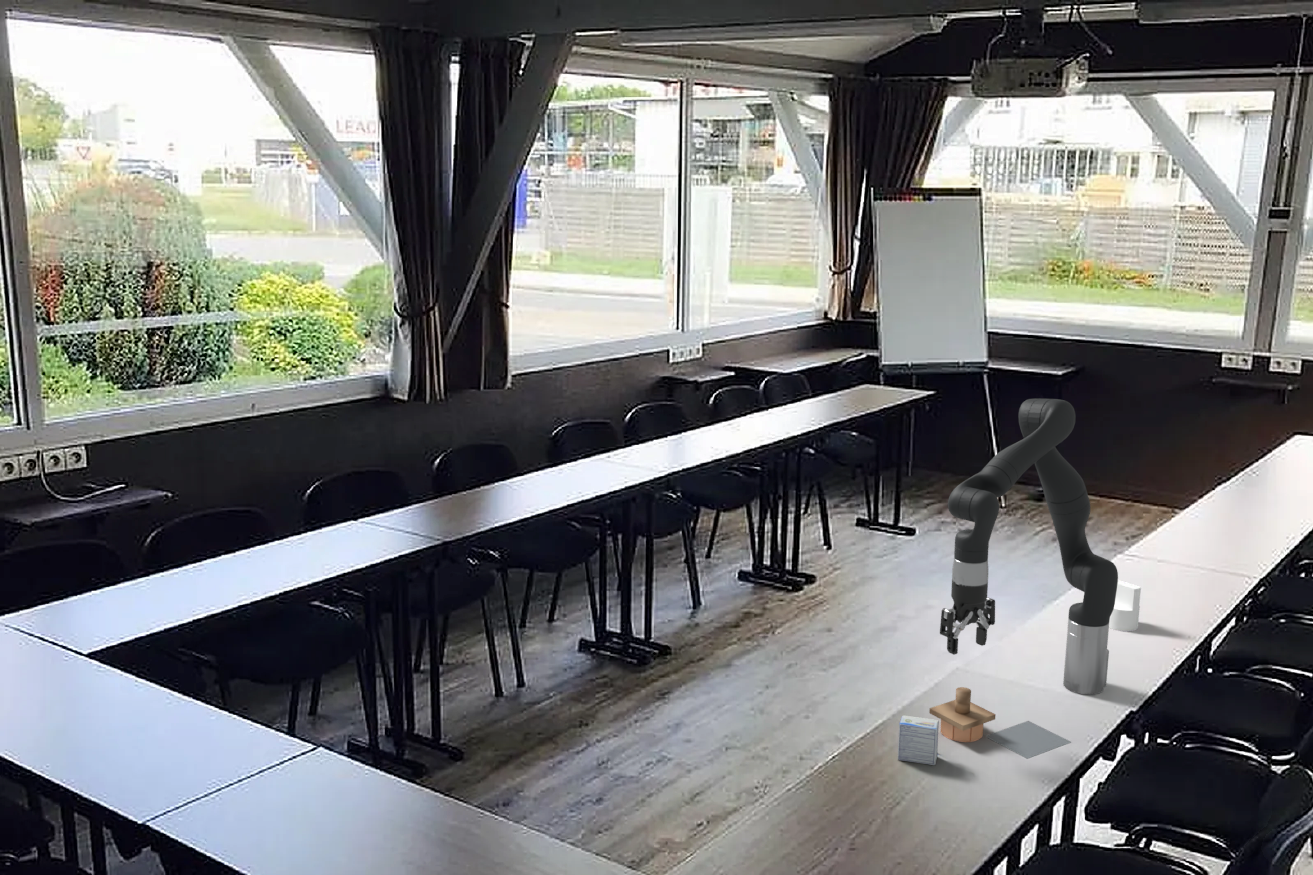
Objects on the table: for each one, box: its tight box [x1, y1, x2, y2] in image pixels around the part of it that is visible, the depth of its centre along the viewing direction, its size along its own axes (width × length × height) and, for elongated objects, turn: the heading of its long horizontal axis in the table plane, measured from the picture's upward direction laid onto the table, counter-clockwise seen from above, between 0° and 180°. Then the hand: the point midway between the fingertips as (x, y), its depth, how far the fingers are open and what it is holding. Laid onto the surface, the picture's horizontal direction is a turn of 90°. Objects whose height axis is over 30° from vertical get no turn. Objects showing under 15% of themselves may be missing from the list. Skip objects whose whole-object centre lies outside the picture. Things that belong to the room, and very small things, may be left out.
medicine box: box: [897, 714, 940, 766], centre depth 253 cm, size 8×4×9 cm, turn 71°
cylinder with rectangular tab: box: [1109, 579, 1142, 632], centre depth 325 cm, size 9×9×12 cm
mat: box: [984, 720, 1072, 759], centre depth 261 cm, size 14×12×1 cm
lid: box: [928, 686, 996, 731], centre depth 263 cm, size 10×10×6 cm
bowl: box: [940, 719, 984, 743], centre depth 264 cm, size 9×9×4 cm
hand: (966, 648), depth 260 cm, fingers open, 8 cm apart
